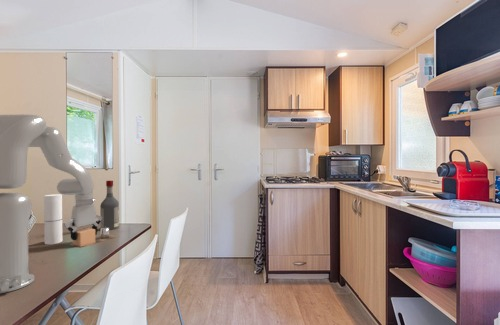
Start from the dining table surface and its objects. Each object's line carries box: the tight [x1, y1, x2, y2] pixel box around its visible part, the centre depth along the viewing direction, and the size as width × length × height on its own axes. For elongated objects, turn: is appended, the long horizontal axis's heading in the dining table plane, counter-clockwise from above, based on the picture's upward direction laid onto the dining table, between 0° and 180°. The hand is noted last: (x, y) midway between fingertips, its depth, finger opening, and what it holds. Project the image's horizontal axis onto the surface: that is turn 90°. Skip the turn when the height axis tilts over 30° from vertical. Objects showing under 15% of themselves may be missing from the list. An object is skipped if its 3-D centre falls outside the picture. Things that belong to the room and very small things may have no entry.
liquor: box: [99, 180, 120, 231], centre depth 155 cm, size 9×9×30 cm
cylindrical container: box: [43, 193, 63, 245], centre depth 129 cm, size 7×7×25 cm
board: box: [68, 233, 120, 248], centre depth 132 cm, size 20×10×2 cm, turn 151°
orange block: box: [72, 227, 96, 248], centre depth 127 cm, size 7×7×6 cm
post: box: [99, 227, 110, 239], centre depth 137 cm, size 4×4×5 cm
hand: (84, 236), depth 128 cm, fingers open, 9 cm apart
